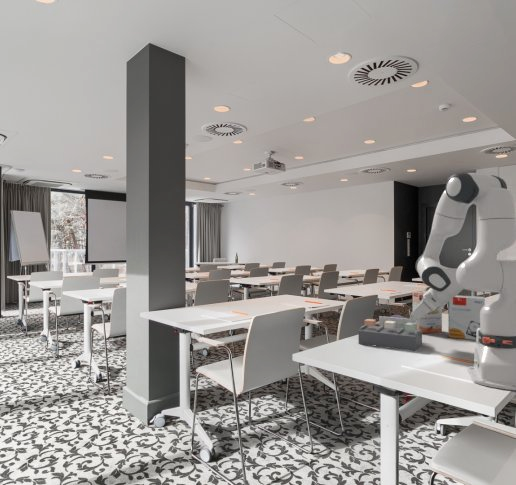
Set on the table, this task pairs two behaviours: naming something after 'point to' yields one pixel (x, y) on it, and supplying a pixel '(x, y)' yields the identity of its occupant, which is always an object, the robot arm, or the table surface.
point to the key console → (391, 335)
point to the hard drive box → (464, 316)
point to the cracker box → (427, 316)
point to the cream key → (390, 324)
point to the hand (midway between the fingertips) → (409, 320)
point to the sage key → (411, 326)
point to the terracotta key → (369, 322)
